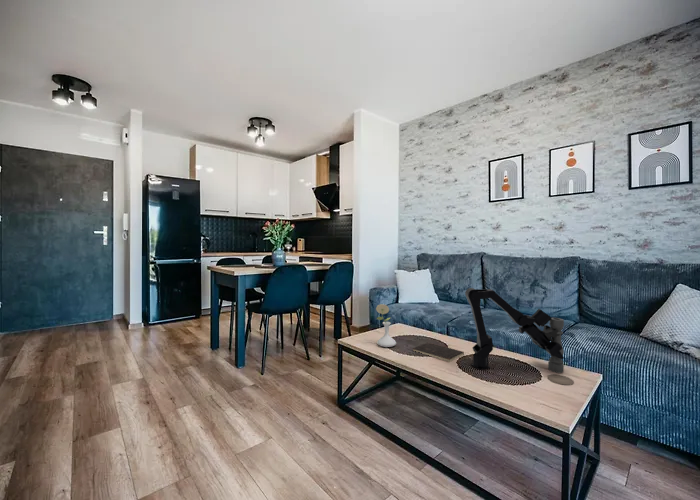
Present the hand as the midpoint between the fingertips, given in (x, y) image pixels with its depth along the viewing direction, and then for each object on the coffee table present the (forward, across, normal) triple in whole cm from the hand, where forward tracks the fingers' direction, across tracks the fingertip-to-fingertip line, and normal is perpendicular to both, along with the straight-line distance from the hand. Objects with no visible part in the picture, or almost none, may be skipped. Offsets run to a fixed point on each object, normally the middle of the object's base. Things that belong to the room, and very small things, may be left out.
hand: (559, 356), depth 150 cm
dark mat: (+1, -12, +9) cm, 14 cm away
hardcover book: (-34, +18, +44) cm, 58 cm away
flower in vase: (-55, +28, +64) cm, 89 cm away
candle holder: (+4, 0, +6) cm, 7 cm away
